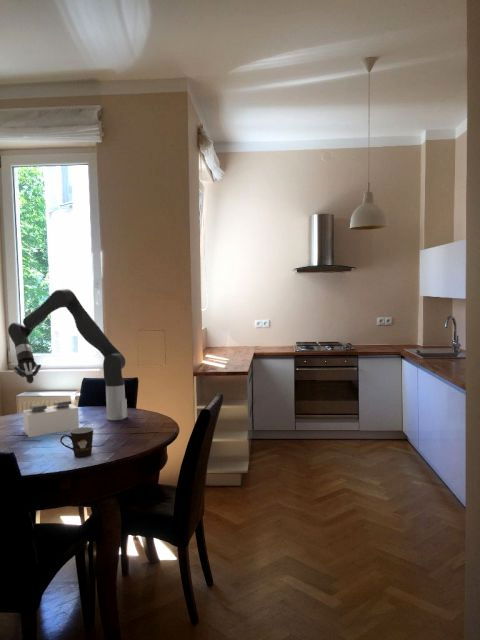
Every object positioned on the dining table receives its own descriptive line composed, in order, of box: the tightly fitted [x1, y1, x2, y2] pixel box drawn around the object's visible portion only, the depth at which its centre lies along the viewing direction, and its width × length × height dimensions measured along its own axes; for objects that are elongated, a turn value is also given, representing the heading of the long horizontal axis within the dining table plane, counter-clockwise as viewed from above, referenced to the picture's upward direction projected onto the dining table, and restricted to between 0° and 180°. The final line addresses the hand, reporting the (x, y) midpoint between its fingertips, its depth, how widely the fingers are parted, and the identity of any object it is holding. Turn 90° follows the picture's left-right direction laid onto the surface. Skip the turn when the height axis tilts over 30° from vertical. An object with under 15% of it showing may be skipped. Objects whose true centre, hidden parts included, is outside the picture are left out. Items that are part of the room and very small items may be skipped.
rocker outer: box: [28, 403, 48, 411], centre depth 219 cm, size 6×8×2 cm
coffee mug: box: [59, 426, 94, 459], centre depth 185 cm, size 12×9×10 cm
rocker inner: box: [53, 400, 72, 406], centre depth 225 cm, size 6×8×2 cm
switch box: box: [22, 403, 80, 438], centre depth 223 cm, size 22×12×11 cm, turn 125°
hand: (30, 382), depth 229 cm, fingers closed
